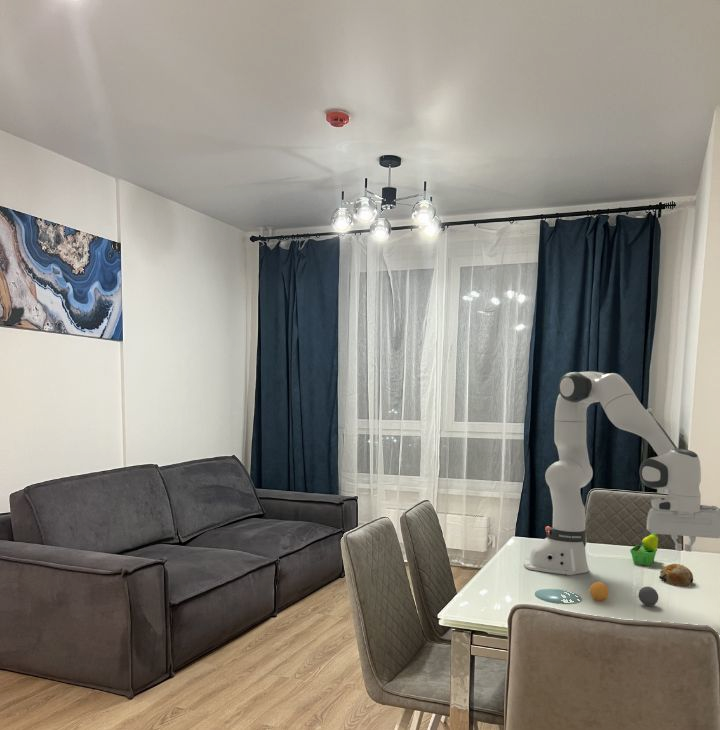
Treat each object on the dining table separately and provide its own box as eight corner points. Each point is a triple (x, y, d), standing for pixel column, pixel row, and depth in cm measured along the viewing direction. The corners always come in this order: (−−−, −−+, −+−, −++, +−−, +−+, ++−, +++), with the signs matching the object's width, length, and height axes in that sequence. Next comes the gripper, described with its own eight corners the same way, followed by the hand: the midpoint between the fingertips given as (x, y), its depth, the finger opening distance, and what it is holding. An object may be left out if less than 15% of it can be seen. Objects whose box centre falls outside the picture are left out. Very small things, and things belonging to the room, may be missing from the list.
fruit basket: (636, 557, 257) (637, 528, 258) (661, 561, 252) (661, 531, 253) (629, 563, 248) (629, 533, 249) (654, 568, 243) (655, 536, 243)
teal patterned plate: (535, 601, 201) (535, 600, 201) (534, 587, 215) (534, 587, 215) (583, 606, 198) (583, 605, 198) (580, 592, 211) (580, 591, 211)
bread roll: (685, 598, 220) (697, 578, 218) (654, 580, 225) (666, 560, 223) (688, 591, 228) (699, 571, 226) (659, 573, 233) (670, 554, 231)
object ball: (590, 602, 201) (590, 584, 201) (588, 596, 207) (589, 579, 207) (609, 604, 200) (609, 585, 200) (607, 598, 205) (607, 580, 205)
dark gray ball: (640, 607, 198) (640, 588, 198) (637, 601, 203) (637, 583, 203) (659, 609, 196) (660, 590, 197) (656, 603, 202) (656, 585, 202)
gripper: (719, 504, 199) (718, 551, 199) (645, 499, 204) (645, 545, 204) (725, 508, 193) (724, 556, 192) (649, 503, 198) (648, 550, 197)
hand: (683, 550), depth 198 cm, fingers closed
